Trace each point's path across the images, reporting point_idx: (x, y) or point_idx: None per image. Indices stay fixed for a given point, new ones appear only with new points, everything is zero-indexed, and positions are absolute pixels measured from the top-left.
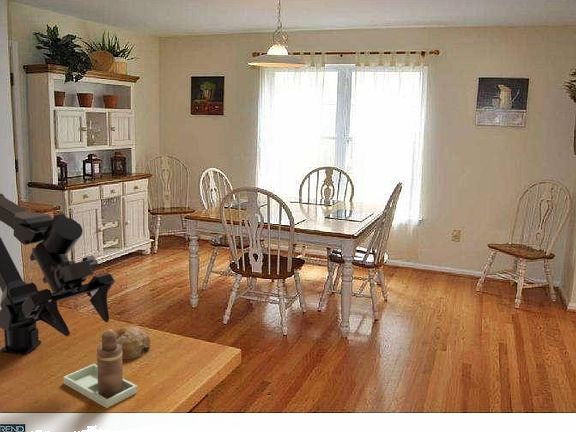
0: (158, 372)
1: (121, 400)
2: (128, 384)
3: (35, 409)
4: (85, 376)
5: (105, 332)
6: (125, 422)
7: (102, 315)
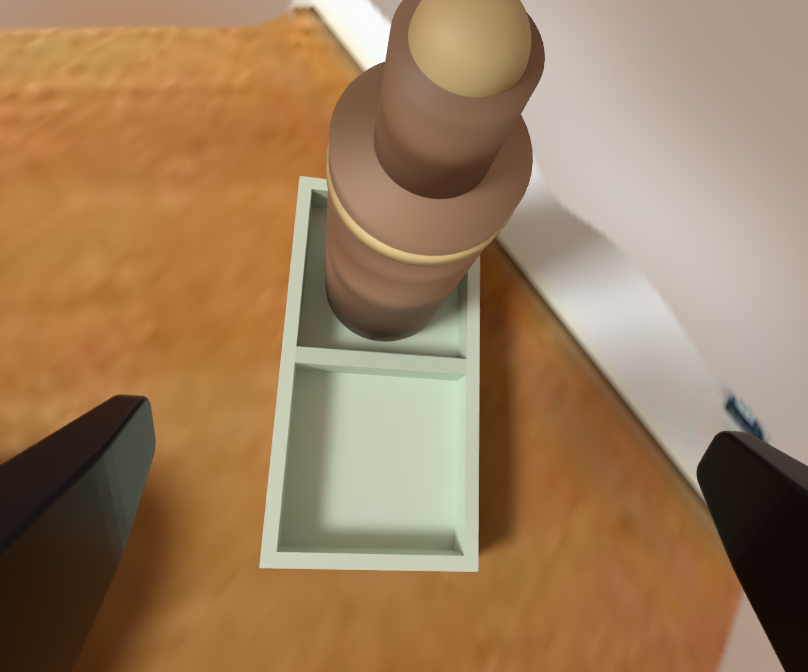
0: (63, 259)
1: None
2: (307, 230)
3: (655, 470)
4: (347, 532)
5: (525, 24)
6: None
7: (106, 535)
